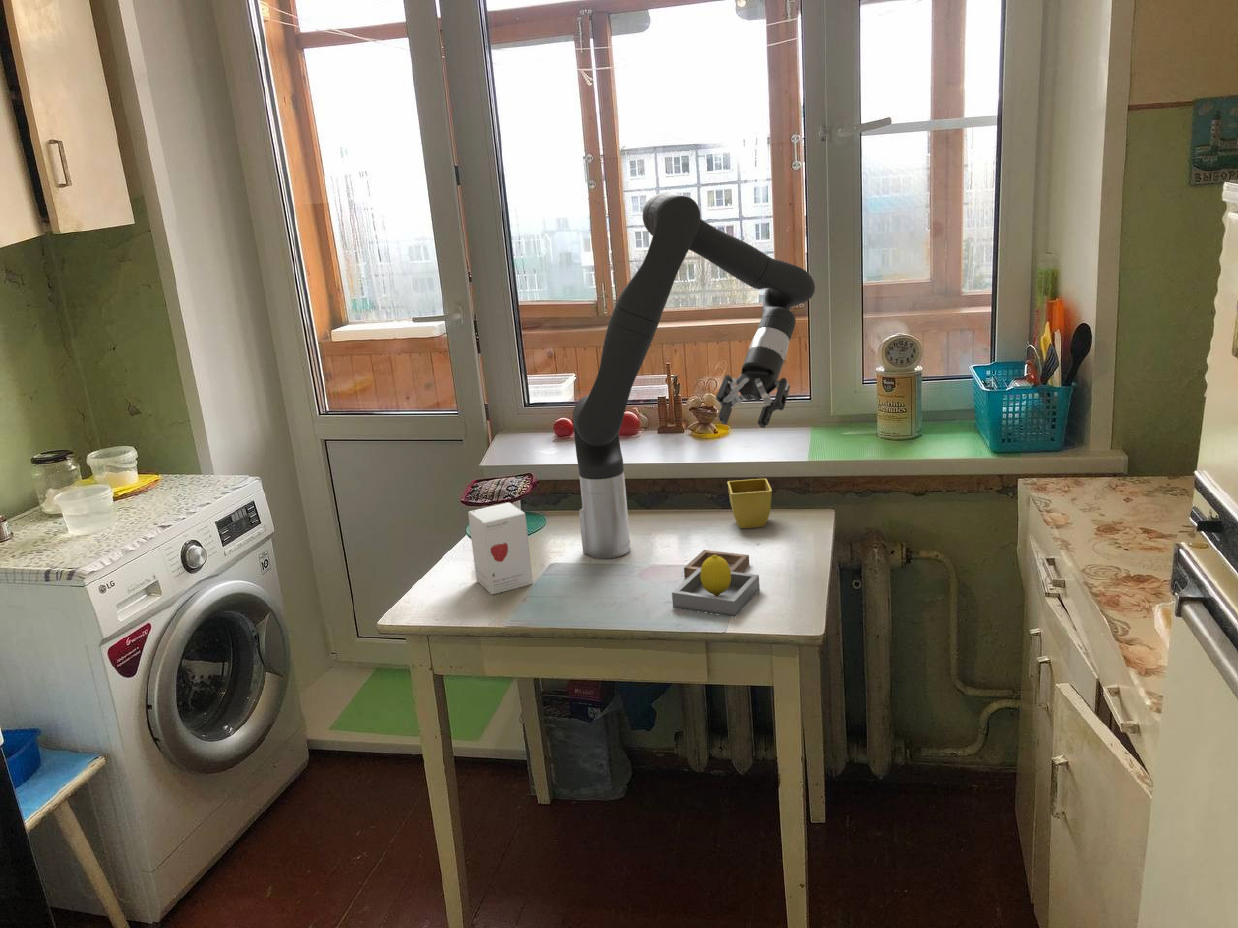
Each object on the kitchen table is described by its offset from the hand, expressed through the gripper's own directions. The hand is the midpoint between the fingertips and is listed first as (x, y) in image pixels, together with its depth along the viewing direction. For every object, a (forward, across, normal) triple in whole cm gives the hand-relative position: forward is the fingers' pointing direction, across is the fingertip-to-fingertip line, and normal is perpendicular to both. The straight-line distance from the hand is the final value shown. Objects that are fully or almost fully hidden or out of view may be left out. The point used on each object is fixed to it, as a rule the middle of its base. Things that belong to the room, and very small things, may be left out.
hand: (741, 424), depth 189 cm
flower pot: (+9, -6, +29) cm, 31 cm away
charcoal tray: (+35, +6, +2) cm, 36 cm away
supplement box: (+43, -36, -5) cm, 56 cm away
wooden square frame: (+27, 0, +10) cm, 29 cm away
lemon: (+35, +6, +2) cm, 35 cm away
